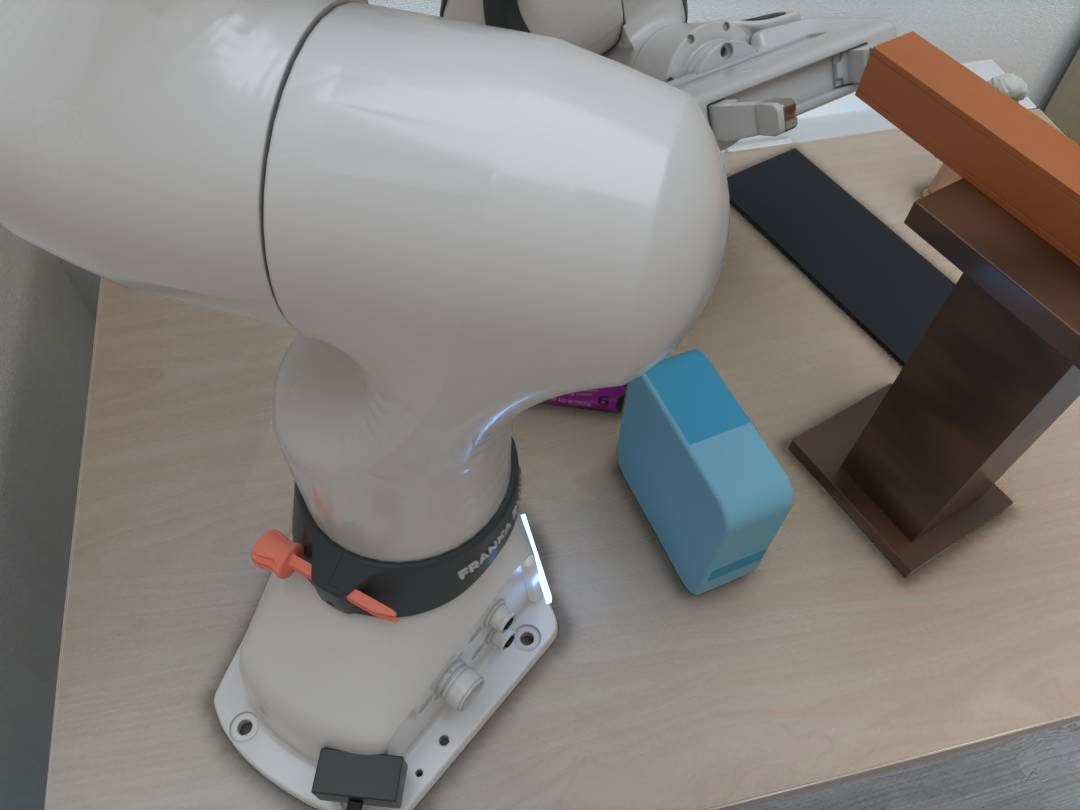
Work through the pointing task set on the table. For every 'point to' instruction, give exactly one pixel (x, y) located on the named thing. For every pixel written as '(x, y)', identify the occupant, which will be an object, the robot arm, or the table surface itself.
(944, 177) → the grandmother figurine
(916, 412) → the stand
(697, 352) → the blue rounded case
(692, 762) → the table surface
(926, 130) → the terracotta beam
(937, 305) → the mat
